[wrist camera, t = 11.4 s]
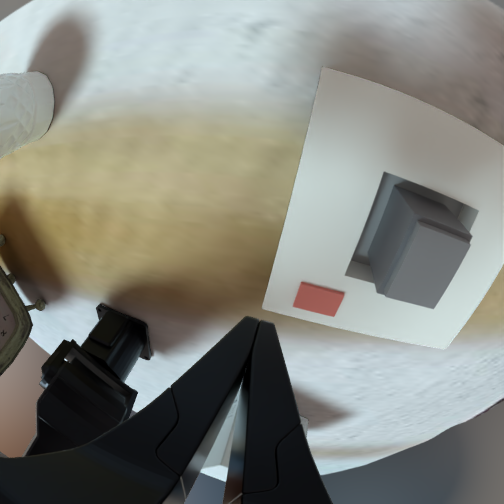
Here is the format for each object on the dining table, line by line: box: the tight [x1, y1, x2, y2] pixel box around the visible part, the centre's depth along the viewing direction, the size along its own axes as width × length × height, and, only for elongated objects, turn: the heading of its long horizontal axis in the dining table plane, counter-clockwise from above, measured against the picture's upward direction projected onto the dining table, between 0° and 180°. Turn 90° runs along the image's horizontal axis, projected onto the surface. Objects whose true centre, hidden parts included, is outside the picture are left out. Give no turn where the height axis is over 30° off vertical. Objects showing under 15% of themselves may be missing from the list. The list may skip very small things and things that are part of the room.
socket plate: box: [262, 67, 504, 350], centre depth 17 cm, size 16×16×3 cm
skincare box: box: [200, 390, 309, 482], centre depth 29 cm, size 10×6×10 cm, turn 55°
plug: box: [367, 185, 473, 309], centre depth 15 cm, size 5×4×5 cm
